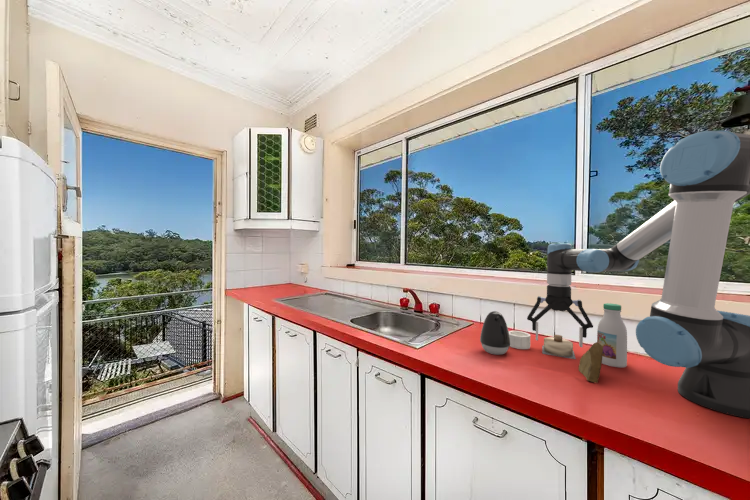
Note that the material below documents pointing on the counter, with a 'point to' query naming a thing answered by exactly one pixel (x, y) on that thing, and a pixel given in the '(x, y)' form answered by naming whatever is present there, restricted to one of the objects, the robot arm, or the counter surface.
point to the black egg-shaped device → (495, 334)
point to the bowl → (519, 339)
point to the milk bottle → (613, 336)
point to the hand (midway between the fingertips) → (558, 342)
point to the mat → (556, 355)
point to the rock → (592, 363)
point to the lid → (558, 346)
